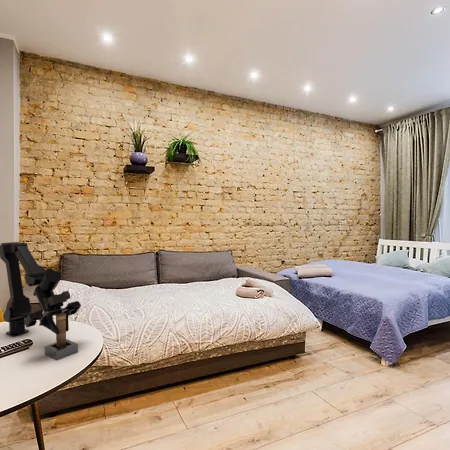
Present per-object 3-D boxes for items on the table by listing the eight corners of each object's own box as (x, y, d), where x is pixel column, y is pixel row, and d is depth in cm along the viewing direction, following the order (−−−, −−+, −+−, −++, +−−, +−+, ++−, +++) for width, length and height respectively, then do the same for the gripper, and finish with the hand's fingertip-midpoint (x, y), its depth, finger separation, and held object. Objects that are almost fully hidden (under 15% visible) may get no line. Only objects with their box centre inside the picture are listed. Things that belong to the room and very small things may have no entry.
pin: (54, 350, 115) (53, 315, 114) (61, 346, 118) (60, 312, 117) (61, 351, 114) (60, 316, 113) (68, 347, 117) (67, 313, 116)
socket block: (44, 354, 115) (44, 346, 115) (66, 346, 121) (65, 338, 121) (56, 360, 110) (56, 351, 110) (77, 351, 117) (77, 343, 117)
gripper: (27, 290, 109) (44, 328, 103) (78, 280, 125) (95, 313, 119) (17, 308, 114) (33, 345, 108) (67, 297, 129) (83, 329, 124)
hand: (63, 332), depth 115 cm, fingers closed on pin, 3 cm apart
